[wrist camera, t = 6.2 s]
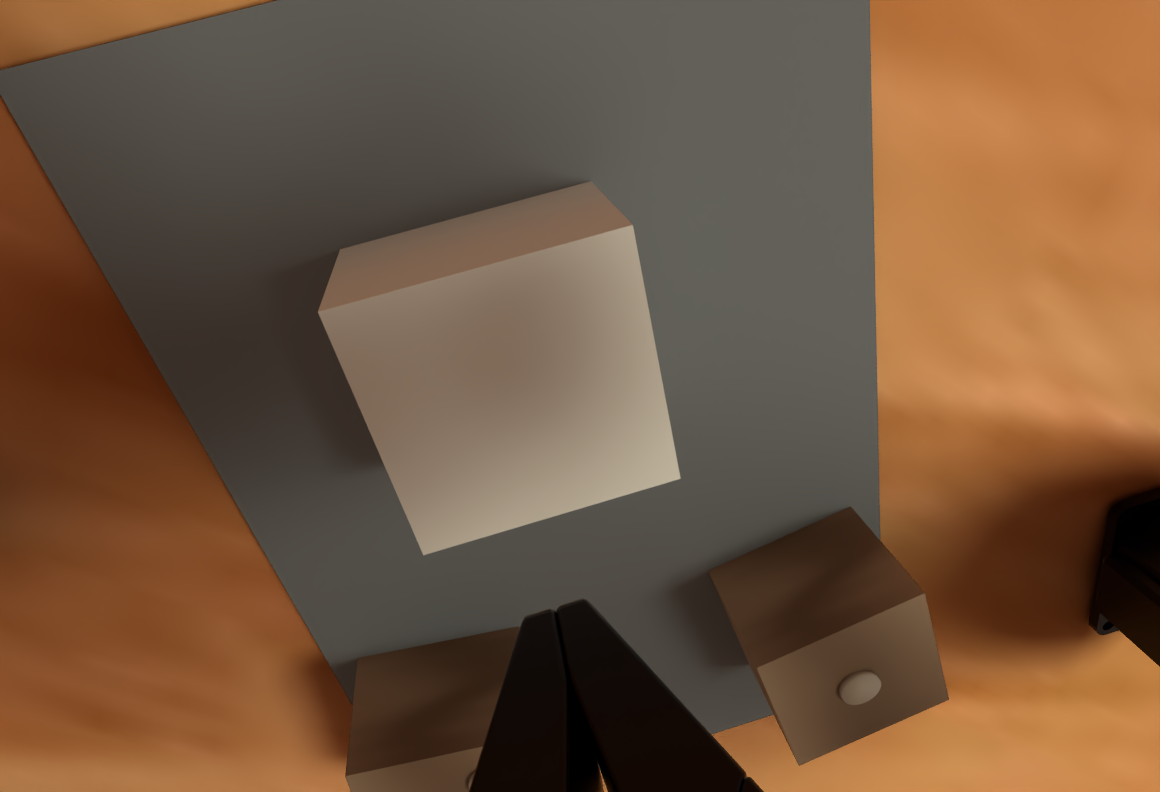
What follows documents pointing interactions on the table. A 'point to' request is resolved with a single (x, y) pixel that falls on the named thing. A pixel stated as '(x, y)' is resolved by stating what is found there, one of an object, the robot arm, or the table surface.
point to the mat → (471, 184)
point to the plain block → (504, 364)
